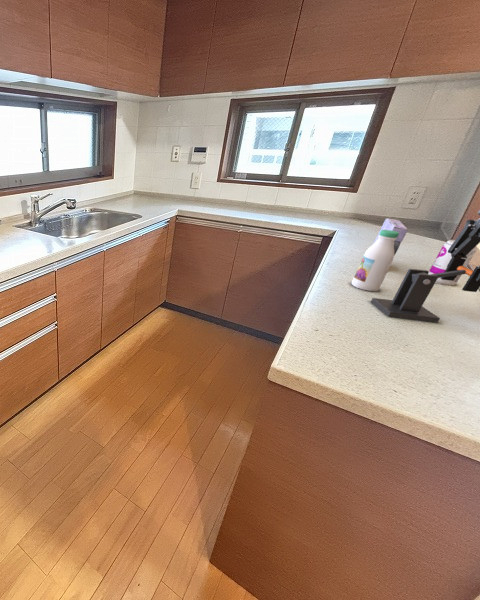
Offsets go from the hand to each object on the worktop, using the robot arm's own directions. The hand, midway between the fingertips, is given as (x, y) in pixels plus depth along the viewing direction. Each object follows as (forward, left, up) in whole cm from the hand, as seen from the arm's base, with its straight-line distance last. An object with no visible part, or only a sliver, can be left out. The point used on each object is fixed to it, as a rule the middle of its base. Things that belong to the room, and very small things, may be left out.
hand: (457, 285), depth 91 cm
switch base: (+9, +2, -10) cm, 14 cm away
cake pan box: (+2, -49, -10) cm, 51 cm away
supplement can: (-14, -37, -10) cm, 41 cm away
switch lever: (+4, +1, +1) cm, 5 cm away
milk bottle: (+14, -16, -10) cm, 24 cm away
